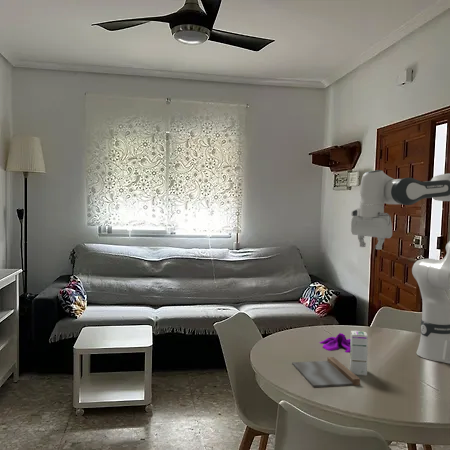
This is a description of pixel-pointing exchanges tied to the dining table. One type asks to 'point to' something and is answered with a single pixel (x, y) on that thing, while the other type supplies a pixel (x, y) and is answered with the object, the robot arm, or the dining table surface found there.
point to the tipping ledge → (326, 373)
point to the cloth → (337, 343)
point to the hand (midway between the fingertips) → (370, 248)
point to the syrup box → (358, 352)
